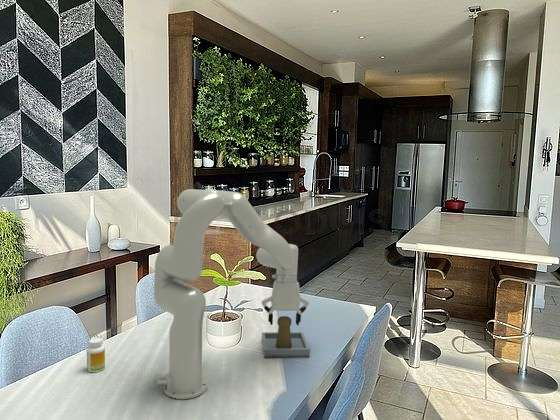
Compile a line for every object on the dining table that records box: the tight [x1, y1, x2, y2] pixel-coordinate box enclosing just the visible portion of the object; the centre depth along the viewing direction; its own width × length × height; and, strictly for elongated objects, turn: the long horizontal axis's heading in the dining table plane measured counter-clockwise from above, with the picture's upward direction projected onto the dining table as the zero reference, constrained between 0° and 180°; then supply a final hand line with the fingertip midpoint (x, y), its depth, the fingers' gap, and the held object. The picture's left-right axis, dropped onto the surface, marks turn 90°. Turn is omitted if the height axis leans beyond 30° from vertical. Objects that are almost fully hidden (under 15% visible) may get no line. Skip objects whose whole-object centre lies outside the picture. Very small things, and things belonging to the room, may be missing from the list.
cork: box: [276, 315, 292, 349], centre depth 163 cm, size 6×6×11 cm
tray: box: [261, 331, 311, 359], centre depth 164 cm, size 16×16×3 cm
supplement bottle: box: [86, 337, 106, 373], centre depth 143 cm, size 5×5×10 cm
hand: (284, 323), depth 163 cm, fingers open, 9 cm apart
